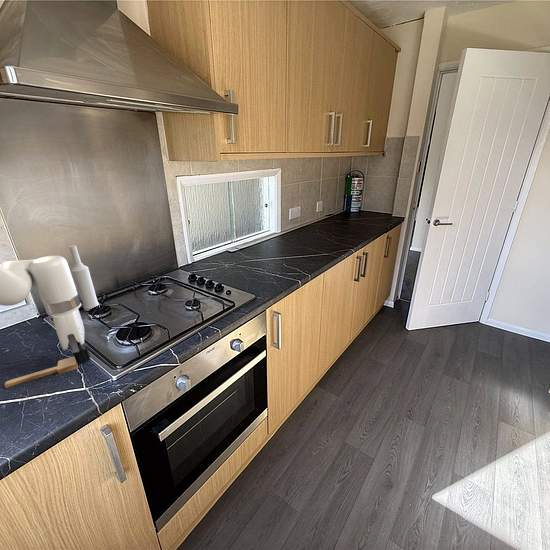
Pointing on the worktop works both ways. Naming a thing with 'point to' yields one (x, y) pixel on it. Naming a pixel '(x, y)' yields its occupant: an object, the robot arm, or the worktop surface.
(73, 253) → the bottle
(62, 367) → the wooden spatula
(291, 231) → the worktop surface
